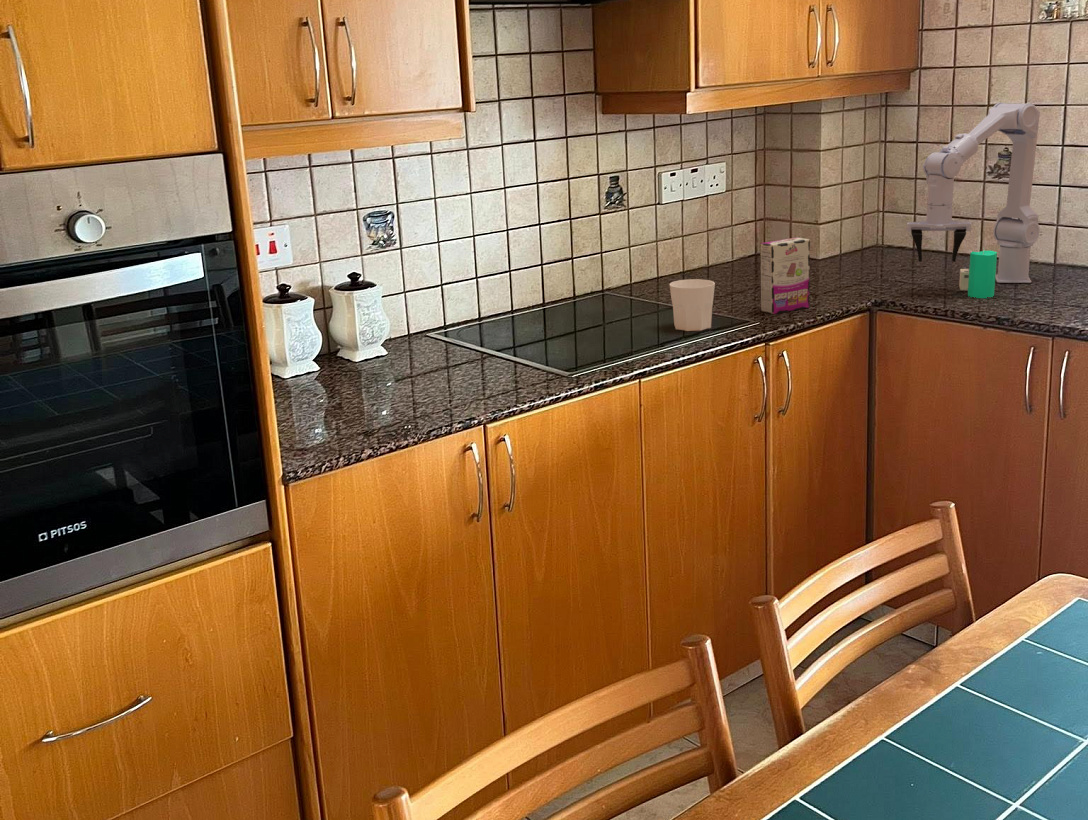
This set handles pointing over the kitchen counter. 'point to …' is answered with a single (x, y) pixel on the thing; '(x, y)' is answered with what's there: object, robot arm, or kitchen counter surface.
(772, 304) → the candy bar box
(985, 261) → the candle
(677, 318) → the cup
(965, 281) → the letter cube
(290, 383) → the kitchen counter surface
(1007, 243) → the robot arm
